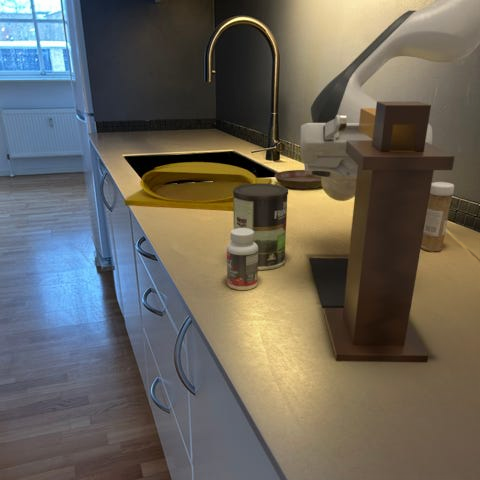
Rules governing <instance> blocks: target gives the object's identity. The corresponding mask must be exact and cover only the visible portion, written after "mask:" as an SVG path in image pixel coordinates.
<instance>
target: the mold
mask: <svg viewBox="0 0 480 480" xmlns="http://www.w3.org/2000/svg"><path fill="white" fill-rule="evenodd" d="M176 181H200V182H225V183H245V184H256V183H265V184H272V178H271V177H270V178H269V177H265V178H264V177H257V176H256V175H255V174H253V172H251V171H249V170H248V169H245V168H242V167H239V166H237V165H236V166H235V165H231V164H226V163H219V162H208V161H207V162H204V161H191V162H189V161H188V162H187V161H185V162H176V163H169V164H164V165H160V166H156V167H155V168H154V169H151V170H149V171H147V172H145V173H143V175H142V177H141V180H140V182H139V183H140V184H139V185H140V187H141V189H140V190H139V191H138V192H136V193H134V194H133V195H131V196H129V197H127V198H126V199H125V200H124V205H125V206H134V207H135V206H136V207H154V208H155V207H156V208H172V209H173V208H175V209H190V210H191V209H192V210H193V209H194V210H210V211H212V210H213V211H231V212H232V211H233V195H229V196H226V197H220V198H213V199H204V200H203V199H202V200H201V199H199V200H194V199H193V200H192V199H189V200H187V199H178V198H171V197H167V196H162V195H159V194H157V193H155V191H156V190H157V189H159V188H161V187H162V186H164V185H165V184H167V183H171V182H176Z"/></svg>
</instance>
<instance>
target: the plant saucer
mask: <svg viewBox="0 0 480 480" xmlns="http://www.w3.org/2000/svg"><path fill="white" fill-rule="evenodd" d="M274 177H275V179H276V181H277V182H278V184H280V186H284V187H286V188H288V189H289V188H290V189H297V190H298V189H300V190H306V189H307V190H309V189H318V188H323V187H322V184H321V176H317V175H311V174H307V173H306V172H305V169H291V170H290V169H289V170H282V171H279V172H276V173H275V174H274Z"/></svg>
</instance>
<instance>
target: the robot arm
mask: <svg viewBox="0 0 480 480" xmlns="http://www.w3.org/2000/svg"><path fill="white" fill-rule="evenodd" d="M479 46H480V0H434V1H433V2H432V3H431V4H429V5H427V6H425V7H423V8H421V9H418V10H407V11H405V12H404V13H403V14H400V16H398V18H397V19H395V20H394V21H393V22H392V23H391V24H389V25H388V26H387V27H386V28H385V29H384V30H383V31H382V32H381V33H380V34H379V35H378V36H377V37H376V38H375V39H373V41H372V42H371V43H370V44H369V45H368V46H367V47H366V48H365V49H364V50H362V52H361V53H360V54H359V55H358V56H357V57H356V58H355V59H354V60H353V61H352V62H350V64H349V65H347V67H346V68H345V69H343V70H342V71H341V72H339V74H337V75H336V76H335V77H334V78H333V79H331V81H329V82H328V83H326V84H325V85H324V86H323V88H321V89H320V91H319V92H318V93H317V95H316V96H315V98H314V100H313V102H312V104H311V106H310V116H311V121H312V122H306V123H304V124H301V126H300V129H299V130H300V131H299V150H300V151H299V154H300V155H299V156H300V159H301V162H302V163H303V166H304V170H305V172H306V173H307V174H311V175H317V176H321V184H322V187H321V188H322V189H323V192H324V193H325V194H326V195H327V197H329V198H330V199H332V200H334V201H338V202H346V201H347V202H348V201H350V200H351V199H355V189H356V179H357V170H358V165H357V164H356V163H355V161H354V160H353V159H352V158H351V157H350V156H349V155H348V154H347V153H346V142H347V140H372V139H371V138H370V137H368V136H367V135H365V134H364V133H363V132H361V131H360V130H359V120H360V110H361V108H376V104H377V102H378V101H377V100H376V99H375V98H373V97H372V96H371V95H369V94H368V93H366V92H365V91H364V90H363V89H362V87H363V85H365V84H366V82H367V81H369V80H370V79H371V78H372V77H373V76H374V75H375V74H376V73H377V72H378V71H379V70H380V69H381V68H382V67H383V66H384V65H385V64H386V63H387V62H388V61H390V60H391V59H393V58H398V57H411V58H417V59H421V60H424V61H425V60H426V61H429V62H432V63H433V62H434V63H452V62H457V61H459V60H462V59H464V58H466V57H468V56H469V55H471V54H472V53H473V52H474V51H475V50H476V49H477V48H478V47H479ZM425 142H427V143H429V144H431V145H433V127H432V125H431V124H430V123H428V128H427V135H426V141H425Z"/></svg>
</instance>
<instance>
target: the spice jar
mask: <svg viewBox="0 0 480 480" xmlns="http://www.w3.org/2000/svg"><path fill="white" fill-rule="evenodd" d="M454 190H455V184H454V183H451V182H447V181H434V182H433V181H432V184H431V190H430V196H429V202H428V208H427V214H426V220H425V226H424V232H423V238H422V244H421V249H422V250H423V251H427V252H441V251H442V250H443V249H444V241H445V236H446V232H447V226H448V219H449V212H450V208H451V200H452V197H453V194H454V192H455V191H454Z"/></svg>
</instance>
